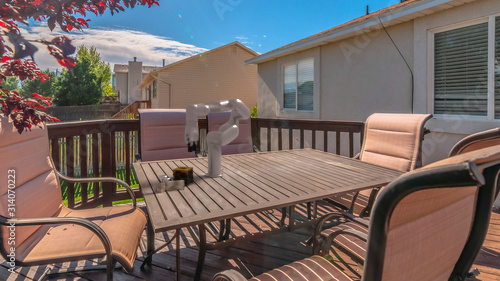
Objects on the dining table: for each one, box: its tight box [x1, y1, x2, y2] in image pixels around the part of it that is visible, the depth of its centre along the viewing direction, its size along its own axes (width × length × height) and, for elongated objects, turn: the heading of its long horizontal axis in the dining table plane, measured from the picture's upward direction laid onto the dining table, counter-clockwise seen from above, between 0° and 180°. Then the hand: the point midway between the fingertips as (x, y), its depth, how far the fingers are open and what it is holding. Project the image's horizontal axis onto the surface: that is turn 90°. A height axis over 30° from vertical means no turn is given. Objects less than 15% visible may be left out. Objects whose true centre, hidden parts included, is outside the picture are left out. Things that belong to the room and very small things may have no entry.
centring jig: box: [156, 178, 185, 194], centre depth 168 cm, size 13×16×5 cm
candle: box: [172, 166, 195, 187], centre depth 182 cm, size 10×10×10 cm
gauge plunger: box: [158, 174, 175, 183], centre depth 168 cm, size 11×4×4 cm, turn 156°
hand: (192, 151), depth 189 cm, fingers open, 4 cm apart
